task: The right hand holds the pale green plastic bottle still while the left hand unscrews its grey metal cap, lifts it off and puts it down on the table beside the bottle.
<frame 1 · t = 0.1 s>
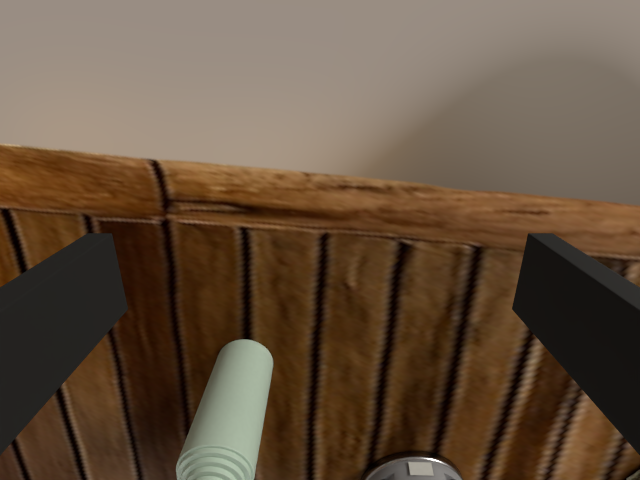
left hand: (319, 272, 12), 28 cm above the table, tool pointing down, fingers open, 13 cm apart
bottle: (245, 362, 48), on the table
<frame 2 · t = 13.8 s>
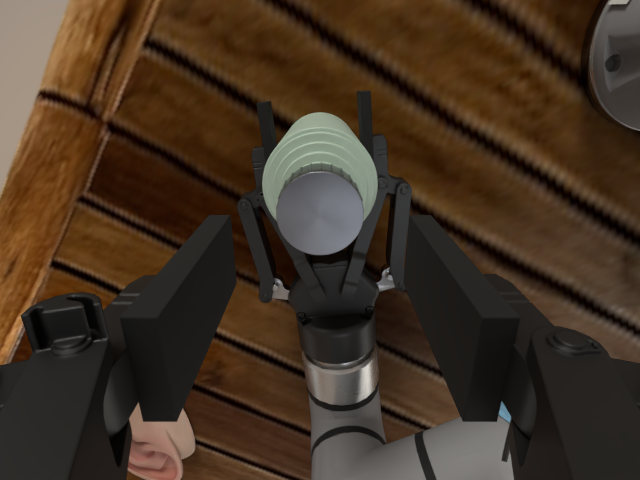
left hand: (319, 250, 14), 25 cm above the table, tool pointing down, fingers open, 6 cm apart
right hand: (313, 97, 29), fingers closed on bottle, 7 cm apart
bottle: (320, 150, 37), on the table, touching right hand
anatomical model: (149, 422, 50), on the table
cap: (320, 213, 18), point 20 cm above the table, screwed on, not yet turned
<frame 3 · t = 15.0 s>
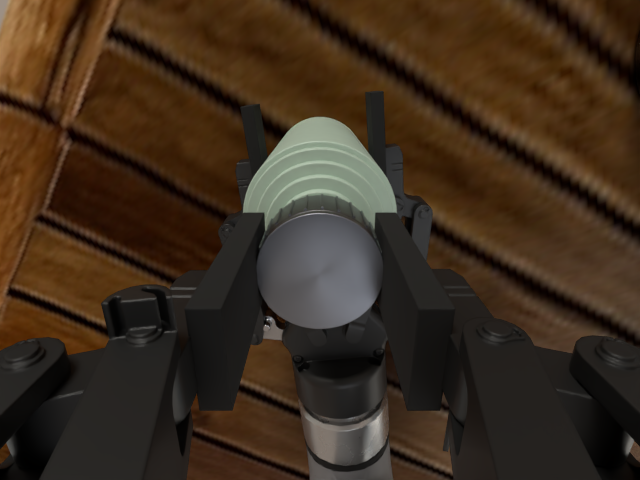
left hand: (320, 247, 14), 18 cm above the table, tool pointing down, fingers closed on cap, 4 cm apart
right hand: (311, 99, 24), fingers closed on bottle, 7 cm apart
bottle: (320, 161, 31), on the table, touching right hand
cap: (319, 270, 12), point 20 cm above the table, screwed on, not yet turned, touching left hand
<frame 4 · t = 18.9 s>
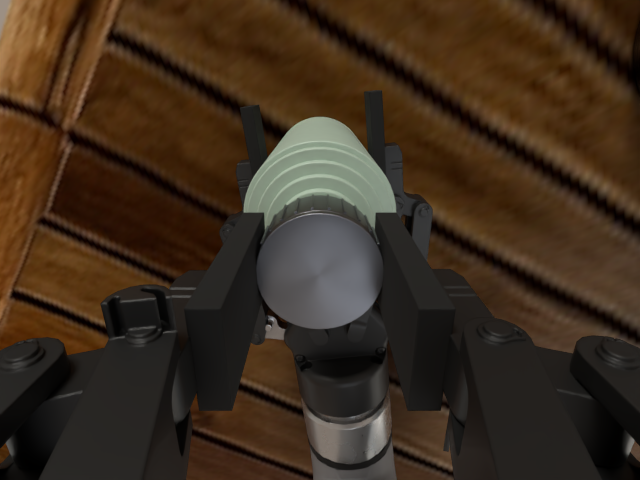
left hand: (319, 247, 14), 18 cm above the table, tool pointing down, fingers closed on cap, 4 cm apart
right hand: (310, 99, 24), fingers closed on bottle, 7 cm apart
bottle: (319, 161, 31), on the table, touching right hand
cap: (319, 270, 12), point 20 cm above the table, turned 138° so far, risen 0.1 cm, still on its thread, touching left hand
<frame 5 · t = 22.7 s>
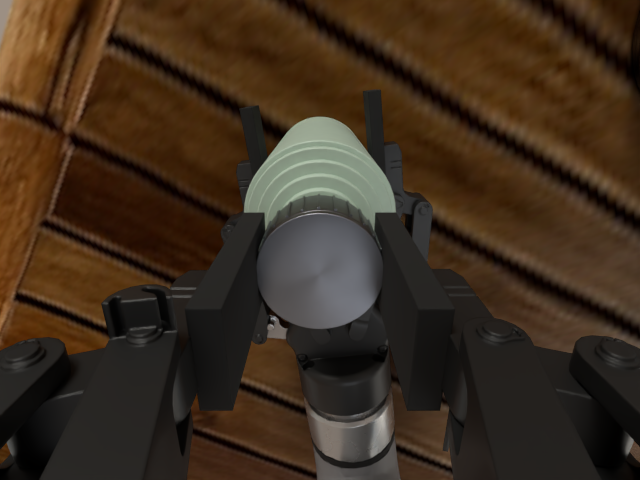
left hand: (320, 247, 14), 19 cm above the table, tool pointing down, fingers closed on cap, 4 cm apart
right hand: (310, 99, 24), fingers closed on bottle, 7 cm apart
bottle: (320, 161, 31), on the table, touching right hand
cap: (319, 270, 12), point 20 cm above the table, turned 275° so far, risen 0.2 cm, still on its thread, touching left hand
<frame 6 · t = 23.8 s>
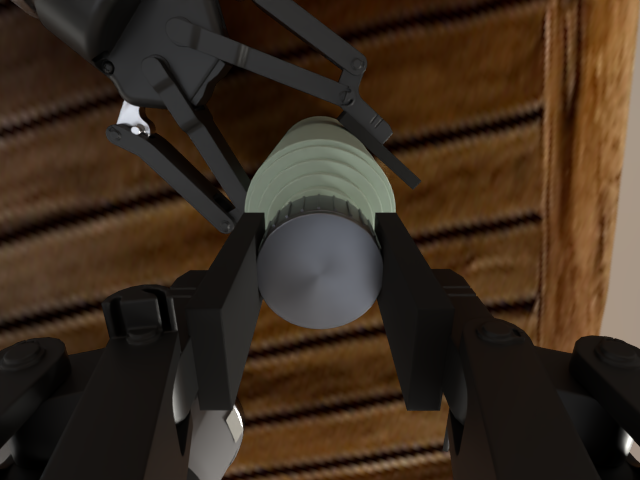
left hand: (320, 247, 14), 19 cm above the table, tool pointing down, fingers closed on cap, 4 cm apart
right hand: (373, 221, 27), fingers closed on bottle, 7 cm apart
bottle: (320, 160, 32), on the table, touching right hand
cap: (319, 270, 12), point 21 cm above the table, off its thread, touching left hand
when the left hand's fingers open (1 cm above the table, at t = 29.2 s): cap drops 1 cm, point 2 cm above the table.
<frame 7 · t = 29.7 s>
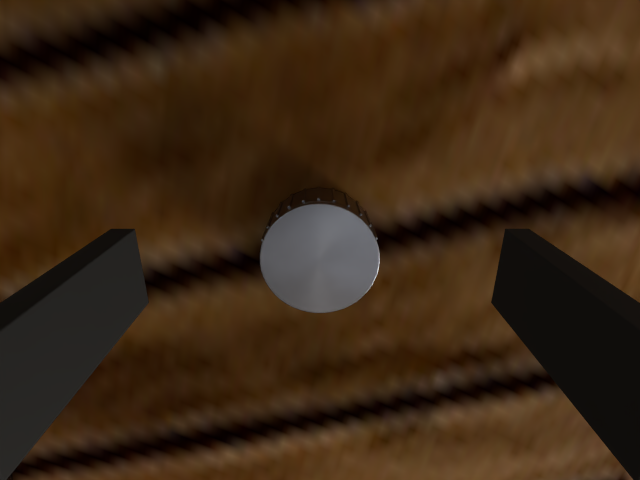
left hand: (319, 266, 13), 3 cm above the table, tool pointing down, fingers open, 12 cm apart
cap: (319, 258, 13), point 2 cm above the table, off its thread
when the right hand's fingers open (6 cm above the table, at t = 30.4 s): bottle stays where it is, on the table.
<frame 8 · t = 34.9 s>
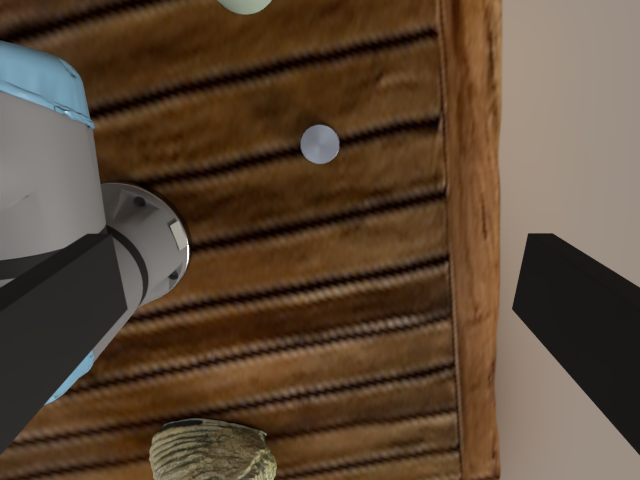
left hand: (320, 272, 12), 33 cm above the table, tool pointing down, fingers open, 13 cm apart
fossil: (219, 436, 59), on the table
cap: (319, 144, 41), point 2 cm above the table, off its thread
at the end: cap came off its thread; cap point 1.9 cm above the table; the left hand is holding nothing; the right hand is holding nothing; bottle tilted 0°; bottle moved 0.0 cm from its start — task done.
